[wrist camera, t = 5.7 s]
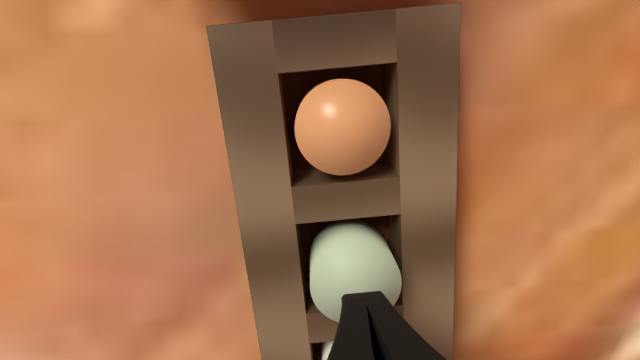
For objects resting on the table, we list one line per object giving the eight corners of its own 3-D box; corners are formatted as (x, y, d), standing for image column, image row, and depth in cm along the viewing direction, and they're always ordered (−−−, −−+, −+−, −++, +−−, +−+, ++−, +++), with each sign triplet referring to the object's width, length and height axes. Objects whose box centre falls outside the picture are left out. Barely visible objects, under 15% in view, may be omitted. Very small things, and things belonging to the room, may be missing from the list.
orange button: (379, 157, 16) (392, 170, 14) (301, 164, 16) (299, 179, 14) (376, 74, 15) (389, 74, 13) (292, 82, 15) (289, 83, 13)
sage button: (389, 285, 17) (402, 320, 14) (313, 292, 17) (314, 328, 14) (386, 215, 16) (400, 239, 13) (306, 222, 16) (305, 248, 13)
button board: (434, 388, 20) (450, 430, 18) (280, 403, 20) (276, 447, 18) (435, 14, 15) (460, 2, 12) (222, 34, 15) (206, 25, 12)
